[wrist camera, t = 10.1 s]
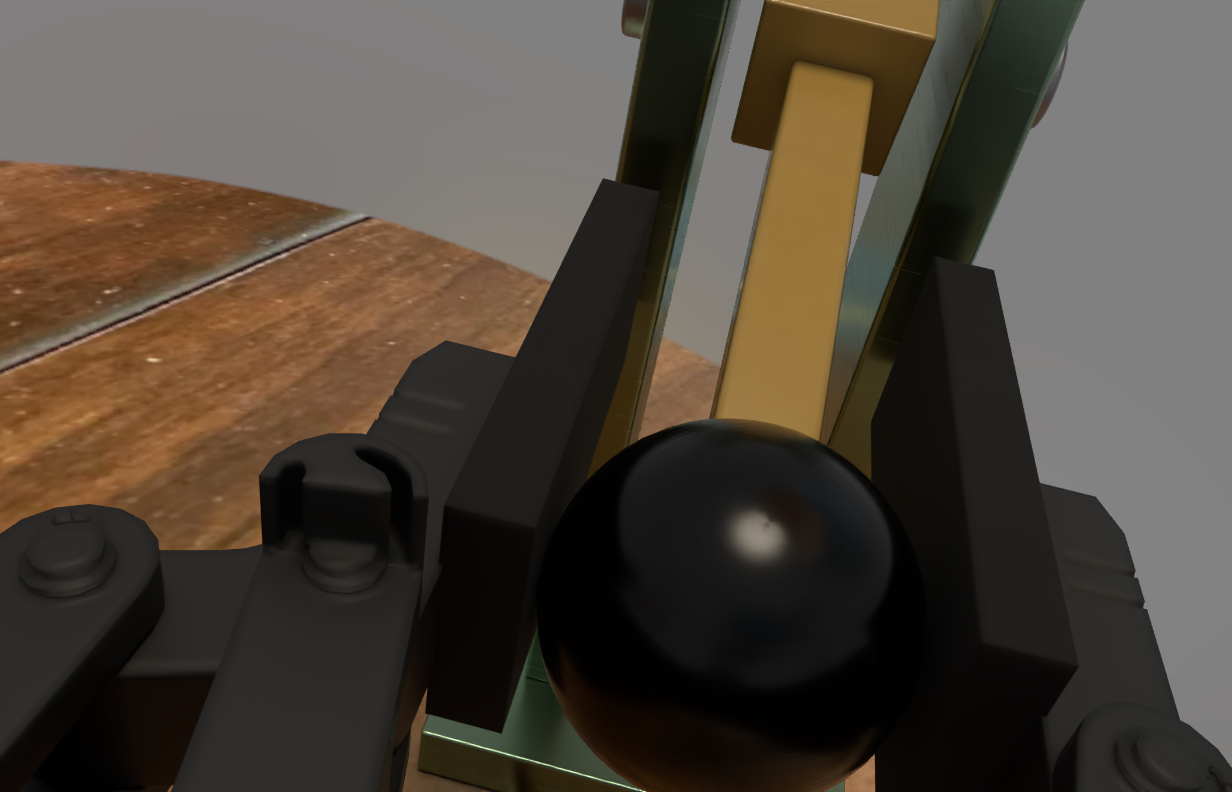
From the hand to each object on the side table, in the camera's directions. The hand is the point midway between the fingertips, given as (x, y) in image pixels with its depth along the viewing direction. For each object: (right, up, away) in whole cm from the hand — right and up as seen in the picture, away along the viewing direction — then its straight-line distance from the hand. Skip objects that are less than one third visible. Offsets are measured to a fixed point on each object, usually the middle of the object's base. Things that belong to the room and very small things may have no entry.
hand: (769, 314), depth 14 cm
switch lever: (0, -1, 0) cm, 1 cm away
